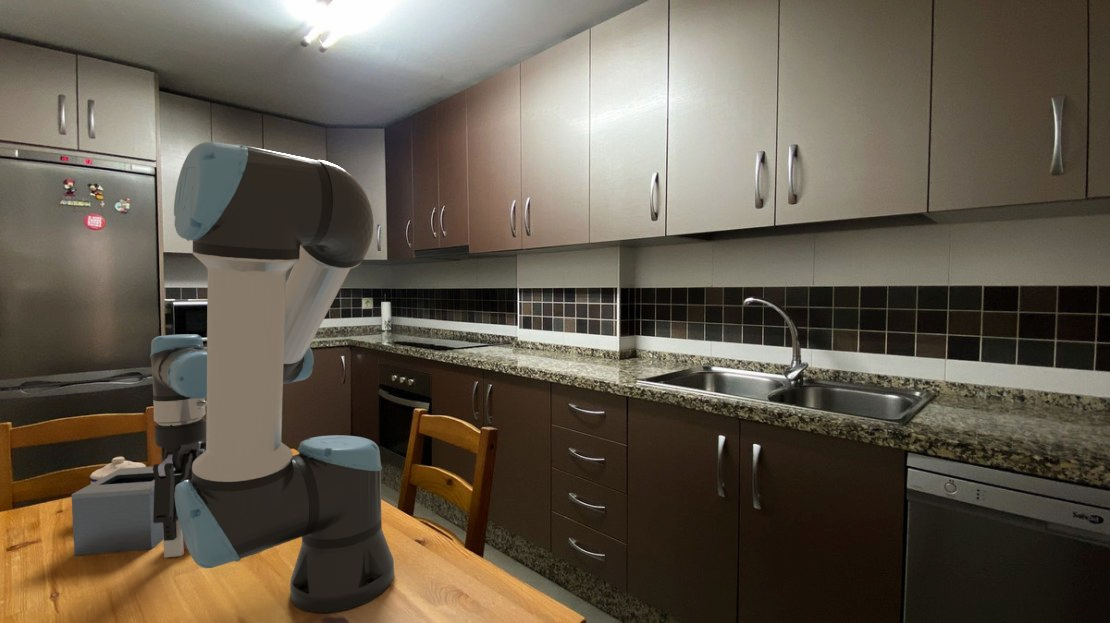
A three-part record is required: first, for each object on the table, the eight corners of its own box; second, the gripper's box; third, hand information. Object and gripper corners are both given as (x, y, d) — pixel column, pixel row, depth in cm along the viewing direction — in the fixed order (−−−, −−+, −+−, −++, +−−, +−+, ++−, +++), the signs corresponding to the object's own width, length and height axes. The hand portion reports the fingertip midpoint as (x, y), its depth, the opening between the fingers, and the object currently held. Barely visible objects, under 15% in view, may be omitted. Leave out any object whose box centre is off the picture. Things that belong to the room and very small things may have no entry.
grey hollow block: (151, 549, 91) (149, 489, 91) (74, 555, 89) (71, 494, 89) (189, 517, 104) (187, 464, 104) (122, 522, 102) (120, 468, 101)
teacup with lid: (157, 507, 109) (155, 454, 108) (106, 526, 100) (103, 468, 100) (125, 498, 114) (123, 447, 113) (73, 515, 105) (71, 460, 105)
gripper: (173, 434, 82) (179, 572, 83) (228, 406, 102) (233, 517, 103) (120, 437, 81) (127, 577, 82) (187, 408, 101) (191, 521, 102)
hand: (186, 544), depth 93 cm, fingers open, 7 cm apart
